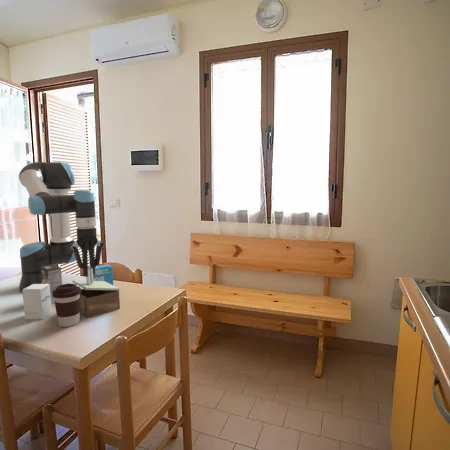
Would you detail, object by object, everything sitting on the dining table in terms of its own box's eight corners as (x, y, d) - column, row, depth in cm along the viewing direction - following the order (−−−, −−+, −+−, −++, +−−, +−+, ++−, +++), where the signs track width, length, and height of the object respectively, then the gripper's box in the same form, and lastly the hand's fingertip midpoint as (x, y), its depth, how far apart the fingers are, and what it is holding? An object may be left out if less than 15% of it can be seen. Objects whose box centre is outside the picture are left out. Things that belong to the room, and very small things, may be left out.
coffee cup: (54, 331, 120) (50, 291, 118) (56, 320, 129) (52, 284, 127) (83, 326, 124) (80, 288, 122) (83, 316, 133) (80, 280, 131)
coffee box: (42, 300, 152) (39, 266, 150) (56, 296, 157) (54, 263, 155) (49, 304, 146) (46, 269, 144) (64, 300, 151) (61, 267, 149)
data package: (88, 293, 161) (87, 269, 159) (87, 290, 165) (85, 267, 163) (113, 288, 167) (112, 265, 166) (111, 286, 171) (110, 264, 170)
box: (74, 308, 141) (72, 291, 140) (105, 300, 151) (104, 283, 150) (87, 318, 131) (85, 299, 130) (120, 308, 141) (118, 290, 140)
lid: (72, 282, 140) (72, 280, 140) (104, 283, 150) (104, 281, 150) (85, 289, 129) (86, 287, 129) (119, 290, 139) (119, 288, 139)
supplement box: (42, 319, 130) (40, 289, 129) (24, 319, 130) (21, 289, 129) (52, 312, 138) (50, 283, 136) (35, 312, 138) (32, 283, 136)
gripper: (72, 230, 127) (76, 288, 130) (106, 226, 136) (109, 281, 139) (65, 228, 132) (70, 285, 135) (98, 225, 142) (101, 278, 145)
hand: (90, 283), depth 137 cm, fingers closed
